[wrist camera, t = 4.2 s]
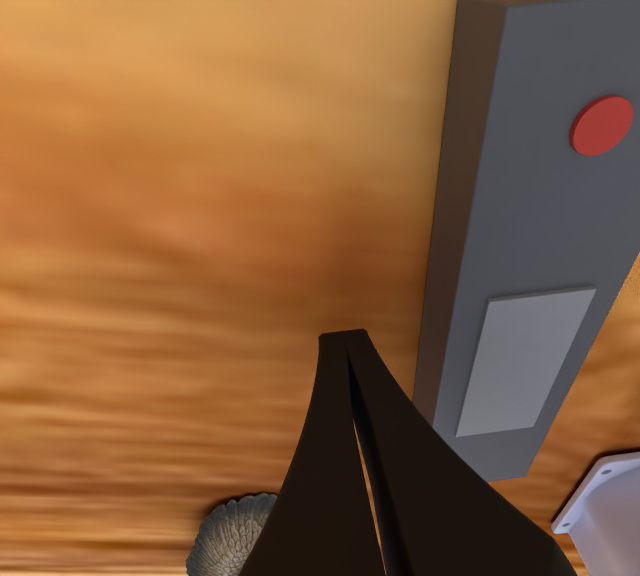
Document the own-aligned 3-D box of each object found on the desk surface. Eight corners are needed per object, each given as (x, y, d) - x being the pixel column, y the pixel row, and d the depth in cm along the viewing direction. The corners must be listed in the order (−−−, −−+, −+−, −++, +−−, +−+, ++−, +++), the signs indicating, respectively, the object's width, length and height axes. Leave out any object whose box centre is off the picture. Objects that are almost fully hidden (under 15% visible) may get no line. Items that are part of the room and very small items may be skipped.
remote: (502, 430, 19) (527, 480, 17) (407, 443, 19) (422, 494, 17) (676, -28, 8) (790, -24, 6) (457, -6, 8) (510, 7, 6)
